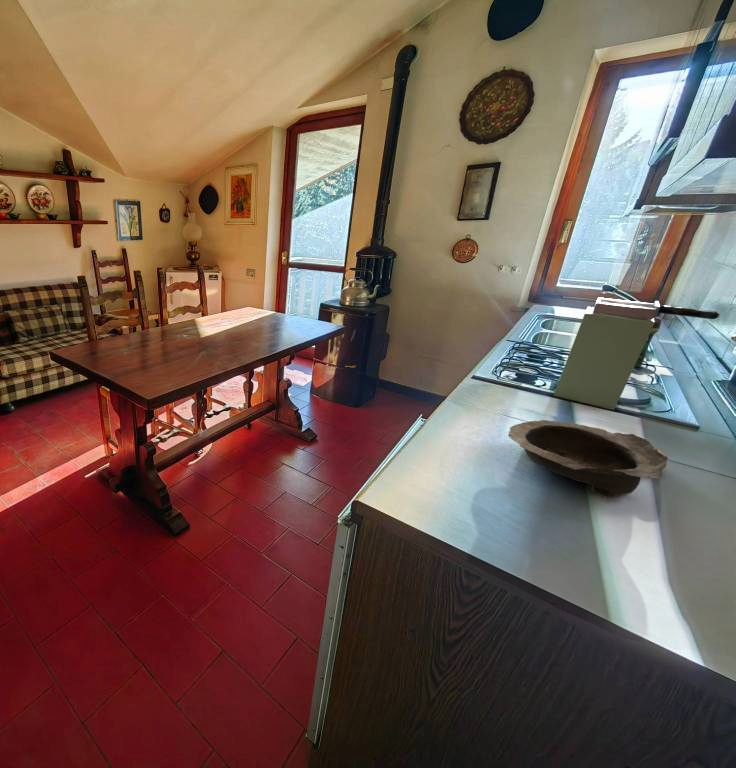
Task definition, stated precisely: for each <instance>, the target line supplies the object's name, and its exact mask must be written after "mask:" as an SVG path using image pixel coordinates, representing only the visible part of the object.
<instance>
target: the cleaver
mask: <svg viewBox="0 0 736 768" xmlns="http://www.w3.org/2000/svg"><path fill="white" fill-rule="evenodd" d="M593 308H594V310H593V313H601V314H609V315H617V316H625V317H633V318H641V319H649V320H653V318H655V317H657V315H658V314H663V315H664V314H665V315H671V316H681V317H689V318H698V319H707V320H717V319H718V318H719V317H720V313H719V311H716V310H708V309H707V310H706V309H699V308H698V309H697V308H689V307H688V308H687V307H681V306H680V307H679V306H671V305H661V304H660V302H659V301H658V300H654V303H650V302H643V301H631V300H623V299H615V298H614V299H613V298H604V297H597V300H596V302H595V304H594V307H593Z"/></svg>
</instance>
